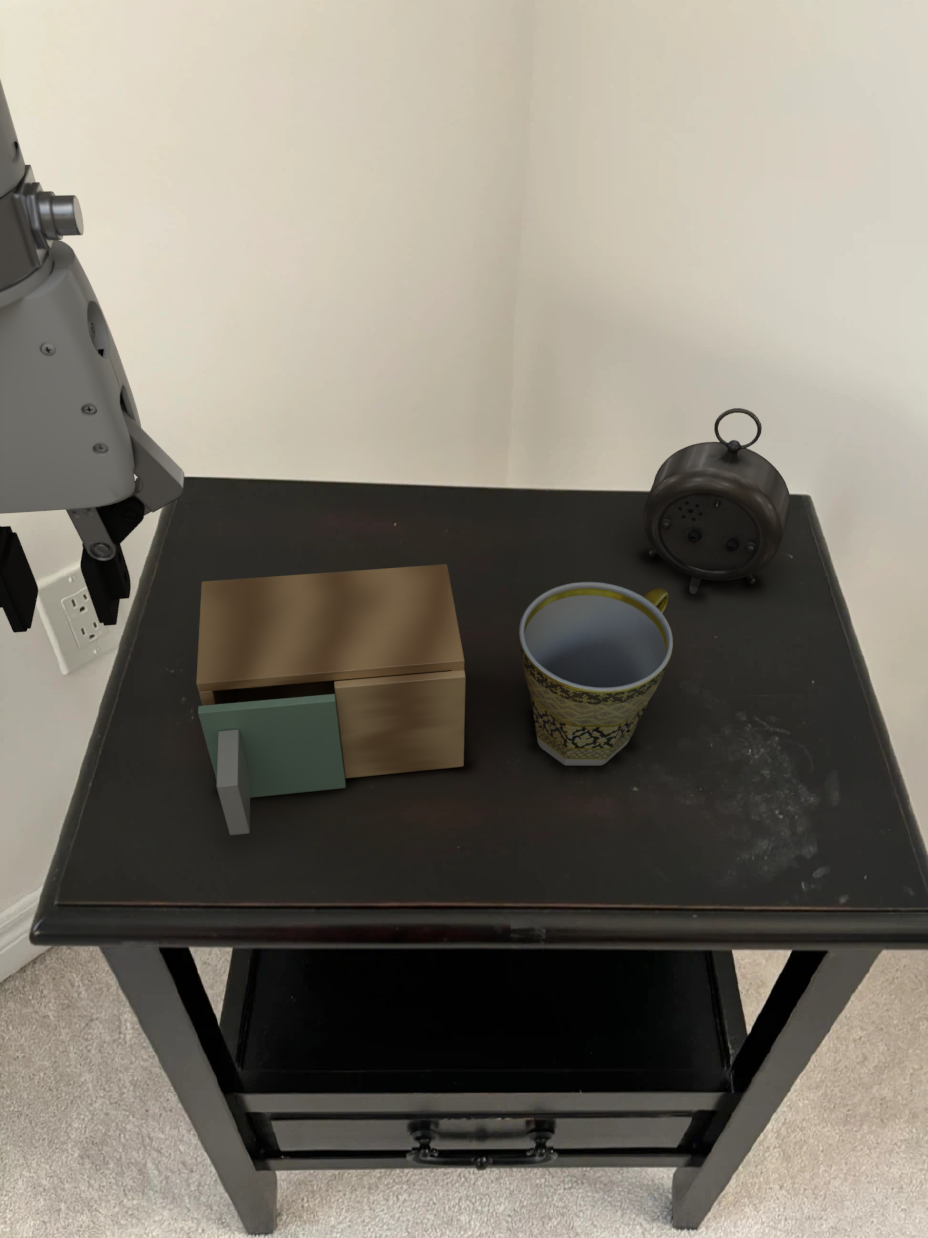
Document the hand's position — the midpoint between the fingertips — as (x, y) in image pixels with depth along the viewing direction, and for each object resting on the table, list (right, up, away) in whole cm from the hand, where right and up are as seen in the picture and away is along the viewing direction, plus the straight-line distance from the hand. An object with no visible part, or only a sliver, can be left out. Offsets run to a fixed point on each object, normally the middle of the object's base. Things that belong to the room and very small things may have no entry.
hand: (68, 606), depth 50 cm
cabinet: (+9, -7, +23) cm, 26 cm away
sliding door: (+7, -12, +17) cm, 22 cm away
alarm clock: (+37, +5, +36) cm, 52 cm away
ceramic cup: (+27, -7, +25) cm, 38 cm away
